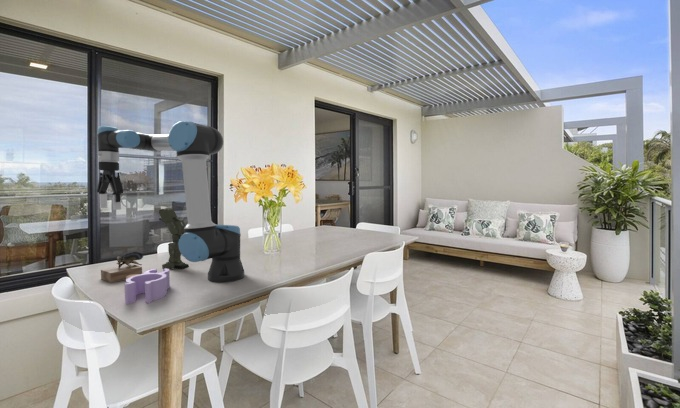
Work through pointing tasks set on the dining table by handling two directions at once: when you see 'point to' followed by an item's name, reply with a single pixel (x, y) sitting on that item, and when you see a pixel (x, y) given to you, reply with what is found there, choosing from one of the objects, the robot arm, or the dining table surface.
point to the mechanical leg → (173, 238)
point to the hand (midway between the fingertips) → (110, 208)
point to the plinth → (119, 273)
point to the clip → (147, 285)
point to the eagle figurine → (129, 259)
